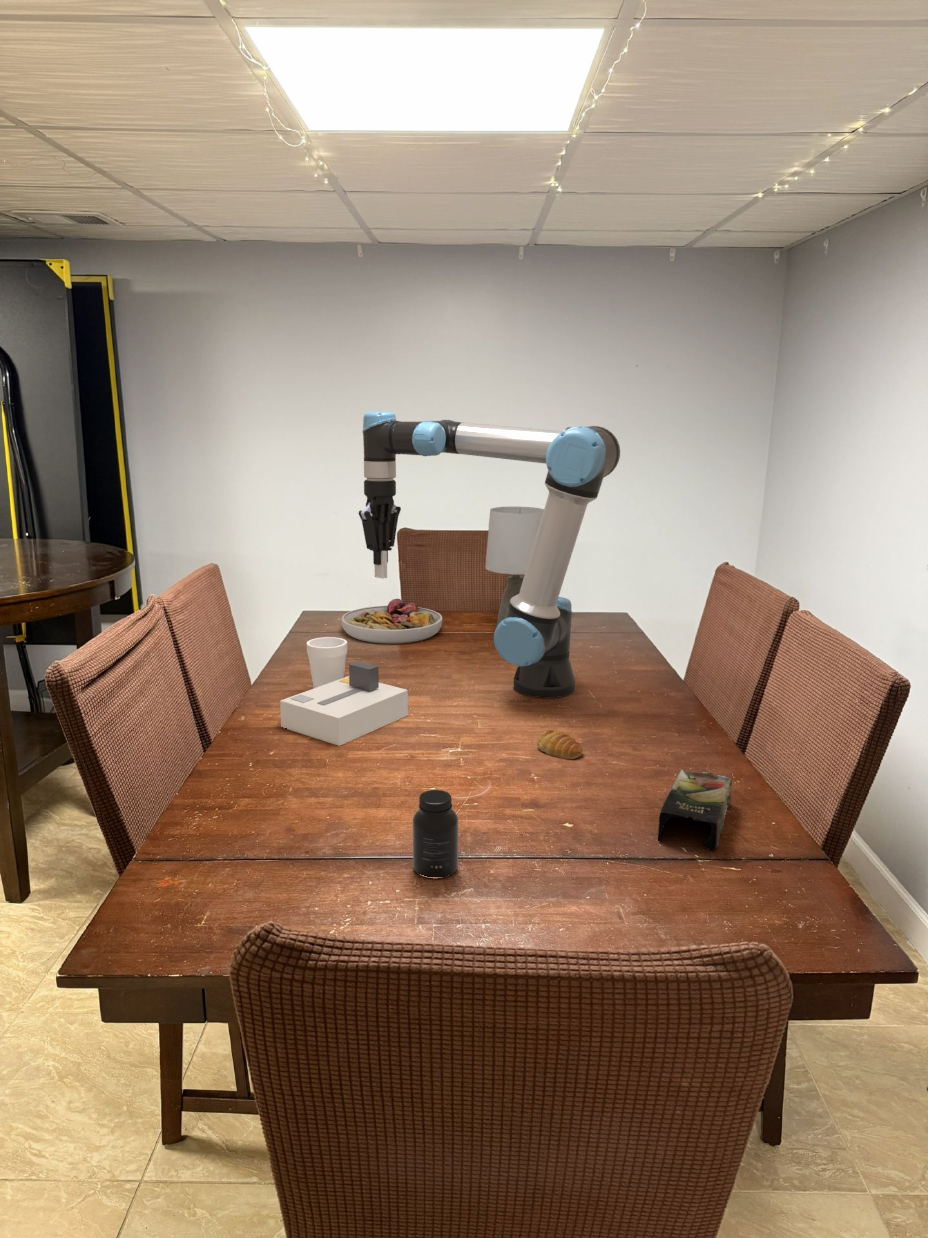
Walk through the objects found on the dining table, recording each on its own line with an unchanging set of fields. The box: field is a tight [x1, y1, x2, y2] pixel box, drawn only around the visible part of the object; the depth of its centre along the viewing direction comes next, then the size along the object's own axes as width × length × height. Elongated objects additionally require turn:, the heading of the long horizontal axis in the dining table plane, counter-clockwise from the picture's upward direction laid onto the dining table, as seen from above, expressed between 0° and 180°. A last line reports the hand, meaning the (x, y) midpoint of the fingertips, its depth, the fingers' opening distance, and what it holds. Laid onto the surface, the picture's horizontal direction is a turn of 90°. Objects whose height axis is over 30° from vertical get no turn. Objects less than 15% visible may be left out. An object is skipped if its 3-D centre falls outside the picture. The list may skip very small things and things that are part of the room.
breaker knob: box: [348, 660, 380, 691], centre depth 194 cm, size 6×3×5 cm, turn 54°
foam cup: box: [306, 636, 348, 689], centre depth 206 cm, size 10×9×13 cm
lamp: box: [484, 506, 544, 629], centre depth 261 cm, size 19×19×37 cm
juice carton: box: [657, 769, 733, 851], centre depth 148 cm, size 20×10×6 cm, turn 157°
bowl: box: [341, 598, 443, 645], centre depth 263 cm, size 30×30×8 cm
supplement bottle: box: [412, 789, 459, 878], centre depth 131 cm, size 7×7×12 cm
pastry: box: [536, 728, 583, 760], centre depth 177 cm, size 9×7×4 cm
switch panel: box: [279, 675, 409, 747], centre depth 191 cm, size 17×22×6 cm
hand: (380, 577), depth 212 cm, fingers closed
